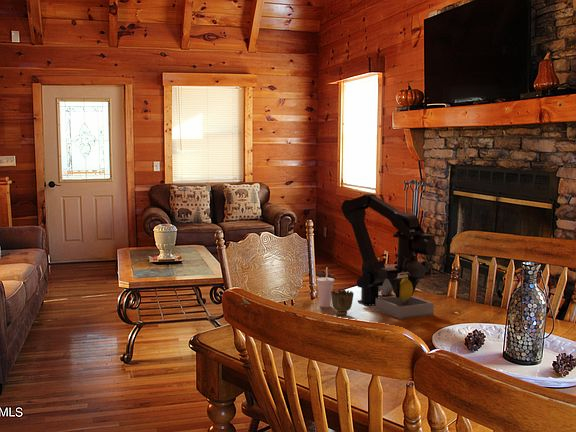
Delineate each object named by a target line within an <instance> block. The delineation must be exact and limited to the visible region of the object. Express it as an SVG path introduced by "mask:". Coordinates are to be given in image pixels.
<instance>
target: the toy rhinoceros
mask: <svg viewBox="0 0 576 432" xmlns="http://www.w3.org/2000/svg"><path fill="white" fill-rule="evenodd" d="M378 288H379V291H378V292H379V293H380V295H381V296H383V295H385V296H384V297H387V296H389V295H388V294H391V295H392V293H394V290H393V288H392V286H391V284H390V282H389V280H388V279H385V280H384V283H383V285H382V286H378ZM386 295H387V296H386Z"/></svg>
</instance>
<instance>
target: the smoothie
mask: <svg viewBox="0 0 576 432" xmlns="http://www.w3.org/2000/svg"><path fill="white" fill-rule="evenodd" d="M328 273H329V270H328V267H325V277H317V278H316V283H317V294H318V304H319V307H321V308H330V307H331V303H332V294H331V292H332V291H334V283H335V278H333V277H329V275H328Z"/></svg>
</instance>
